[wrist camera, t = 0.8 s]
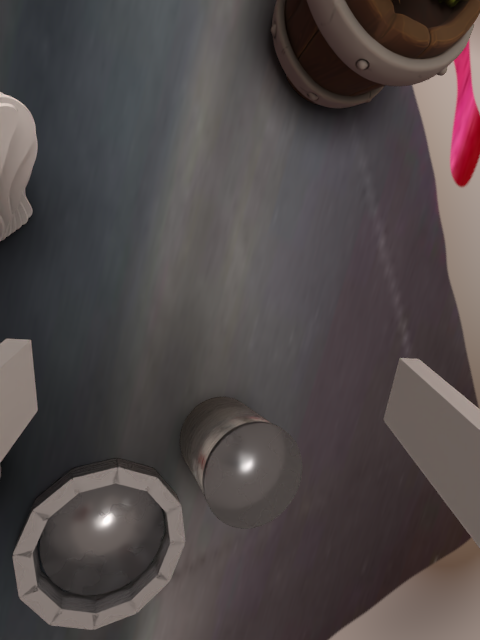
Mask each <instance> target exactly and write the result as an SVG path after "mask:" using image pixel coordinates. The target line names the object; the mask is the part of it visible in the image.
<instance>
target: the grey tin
mask: <svg viewBox="0 0 480 640" xmlns="http://www.w3.org/2000/svg"><path fill="white" fill-rule="evenodd" d="M180 449H181V453H182V456H183V458H184V460H185V462H186V463H187V465H188V467H189V469H190V470H191V472H192V474H193V476H194V477H195V479H196V481H197V483H198V485H199V486H200V488H201V490H202V492H203V493H204V496H205V499H206V501H207V503H208V505H209V507H210V509H211V510H212V512H213V513H214V515H215V516H216V517H217V518H218V519H219V520H221V521H222V522H223V523H225V524H227V525H229V526H232V527H235V528H241V529H249V528H255V527H259V526H262V525H264V524H267V523H268V522H270V521H272V520H274V519H275V518H276V517H278V516H279V515H280V514H281V513H282V512H283V511H284V510H285V509H286V508H287V507H288V505H289V504H290V503H291V501H292V500H293V498H294V496H295V494H296V492H297V490H298V487H299V484H300V480H301V475H302V460H301V455H300V451H299V449H298V446H297V444H296V443H295V441H294V439H293V438H292V437H291V436H290V435H289V434H288V433H287V432H286V431H284V430H283V429H281V428H280V427H278V426H277V425H274V424H272V423H270V422H269V421H267V420H266V419H265V418H263V417H262V416H260V415H259V414H257V413H256V412H254V411H253V410H251V409H250V408H249V407H247V406H246V405H244V404H243V403H241V402H240V401H238V400H236V399H233V398H230V397H215V398H211V399H209V400H206V401H204V402H202V403H201V404H199V405H198V406H197V407H195V408H194V409H193V410H192V411H191V413H190V414H189V415H188V417H187V418H186V420H185V422H184V424H183V426H182V429H181V433H180Z"/></svg>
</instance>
